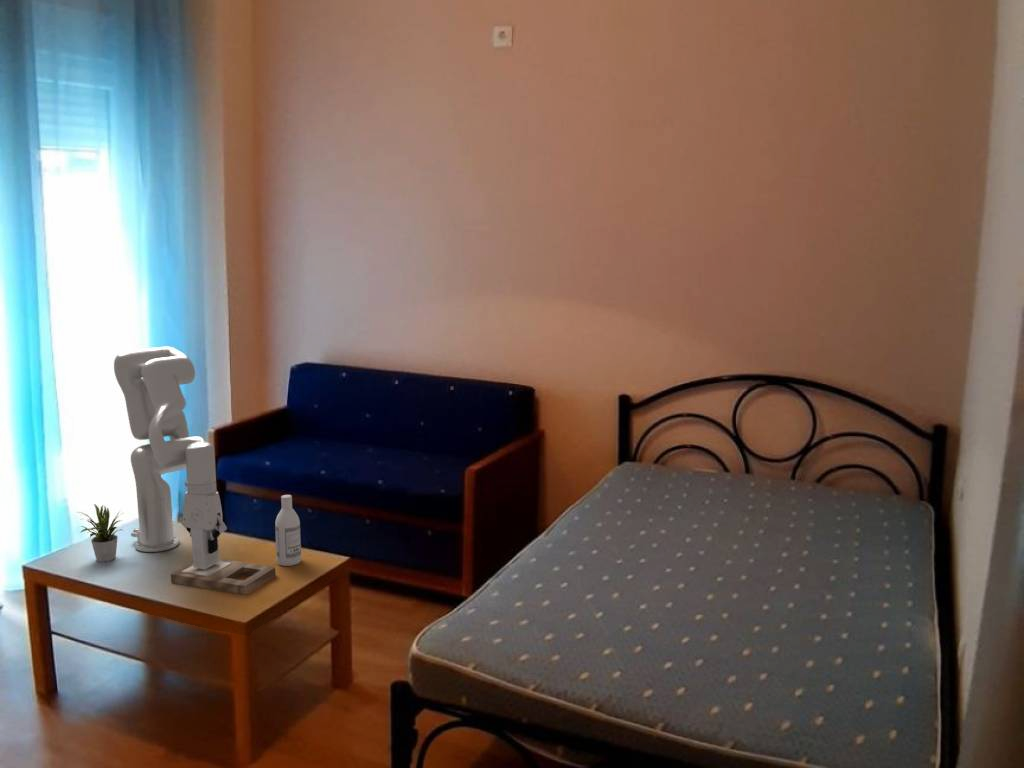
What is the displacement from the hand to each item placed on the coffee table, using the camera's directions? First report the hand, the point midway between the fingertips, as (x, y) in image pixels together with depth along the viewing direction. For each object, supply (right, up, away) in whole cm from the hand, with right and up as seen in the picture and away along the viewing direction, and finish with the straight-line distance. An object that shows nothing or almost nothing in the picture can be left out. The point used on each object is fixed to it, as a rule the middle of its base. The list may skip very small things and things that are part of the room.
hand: (205, 550), depth 257 cm
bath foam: (+20, -6, +12) cm, 24 cm away
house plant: (-35, -5, +14) cm, 38 cm away
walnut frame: (+5, -8, -1) cm, 10 cm away
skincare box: (0, -4, +1) cm, 5 cm away
